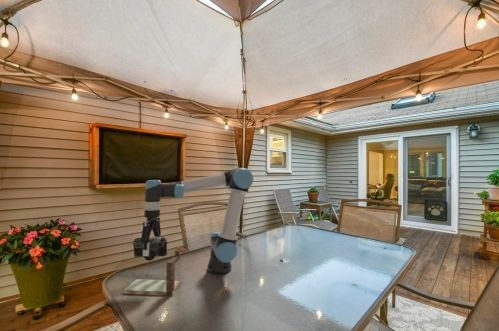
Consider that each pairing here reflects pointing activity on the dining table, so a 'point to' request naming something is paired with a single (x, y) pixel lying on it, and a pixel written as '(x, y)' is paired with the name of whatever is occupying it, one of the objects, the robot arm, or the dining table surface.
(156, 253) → the camera
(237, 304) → the dining table surface
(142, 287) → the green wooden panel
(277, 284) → the dining table surface
